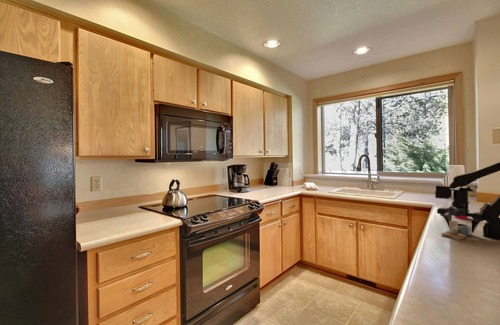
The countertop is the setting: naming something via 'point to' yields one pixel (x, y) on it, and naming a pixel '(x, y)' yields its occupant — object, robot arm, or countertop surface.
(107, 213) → the countertop surface
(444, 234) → the post stand
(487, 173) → the robot arm
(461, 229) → the steel collar
